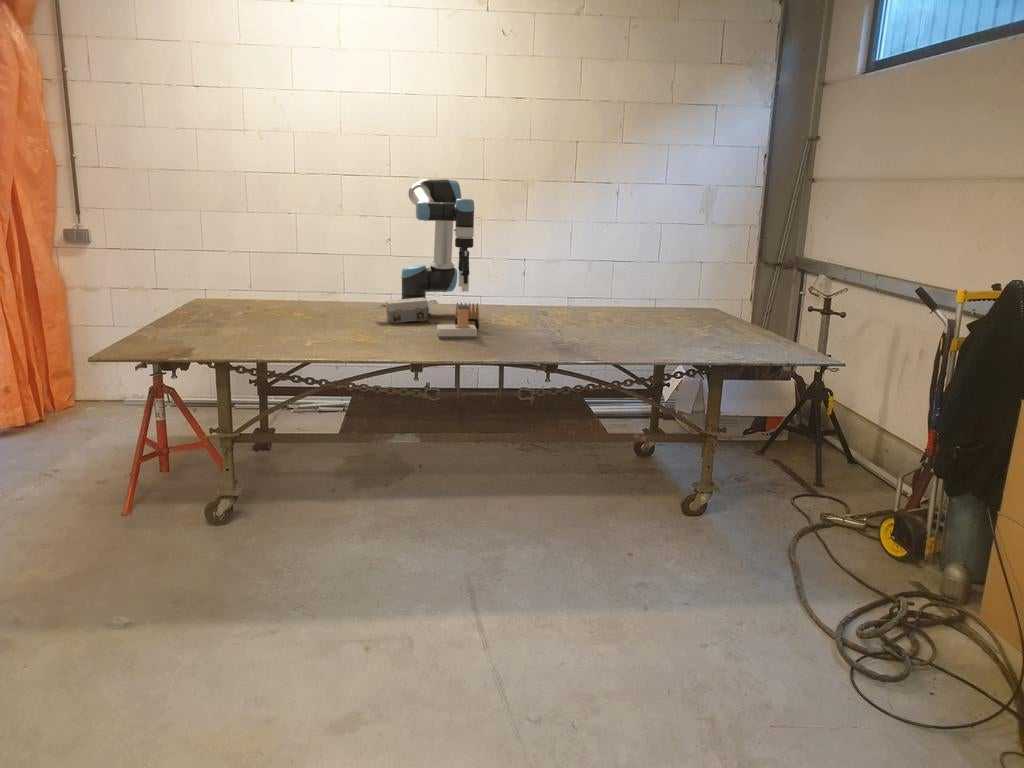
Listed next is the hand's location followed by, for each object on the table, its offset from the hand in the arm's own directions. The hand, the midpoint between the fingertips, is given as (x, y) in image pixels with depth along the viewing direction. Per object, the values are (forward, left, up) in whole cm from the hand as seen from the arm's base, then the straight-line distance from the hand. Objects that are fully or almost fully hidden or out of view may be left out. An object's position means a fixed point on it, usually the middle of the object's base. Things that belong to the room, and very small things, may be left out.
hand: (463, 289), depth 314 cm
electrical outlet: (-34, -22, -21) cm, 46 cm away
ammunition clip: (-15, +4, -20) cm, 26 cm away
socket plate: (0, -2, -20) cm, 20 cm away
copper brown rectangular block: (0, 0, -19) cm, 19 cm away
